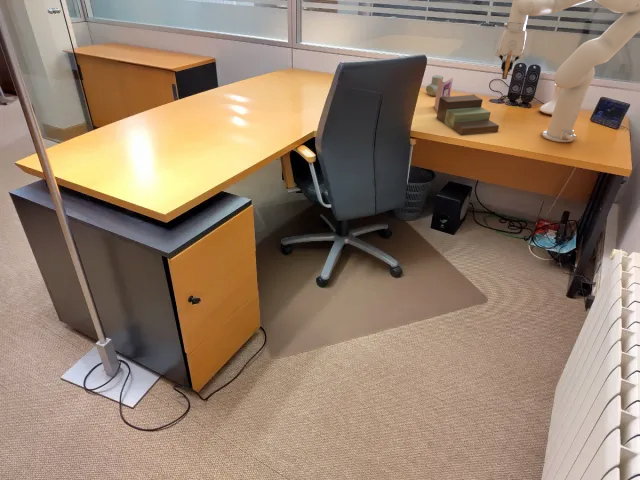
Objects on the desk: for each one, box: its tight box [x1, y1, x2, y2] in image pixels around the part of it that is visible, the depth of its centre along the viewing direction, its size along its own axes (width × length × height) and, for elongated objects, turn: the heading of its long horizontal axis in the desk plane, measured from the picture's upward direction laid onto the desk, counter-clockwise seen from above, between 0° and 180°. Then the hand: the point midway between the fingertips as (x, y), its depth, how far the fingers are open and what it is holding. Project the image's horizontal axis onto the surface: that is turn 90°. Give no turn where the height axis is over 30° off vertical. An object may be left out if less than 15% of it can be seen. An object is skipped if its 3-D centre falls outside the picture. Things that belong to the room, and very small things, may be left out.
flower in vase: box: [539, 83, 562, 116], centre depth 209 cm, size 13×11×25 cm
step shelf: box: [436, 94, 500, 136], centre depth 198 cm, size 24×18×10 cm
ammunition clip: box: [501, 51, 512, 80], centre depth 195 cm, size 11×2×12 cm, turn 160°
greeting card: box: [433, 77, 454, 112], centre depth 215 cm, size 11×7×15 cm, turn 143°
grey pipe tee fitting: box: [425, 74, 444, 97], centre depth 239 cm, size 11×8×10 cm
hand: (505, 70), depth 197 cm, fingers closed on ammunition clip, 2 cm apart
